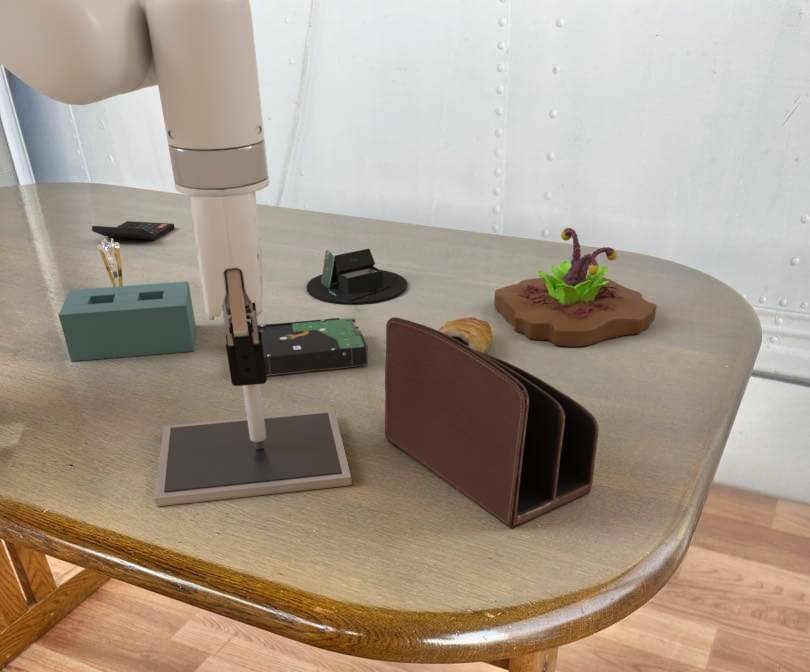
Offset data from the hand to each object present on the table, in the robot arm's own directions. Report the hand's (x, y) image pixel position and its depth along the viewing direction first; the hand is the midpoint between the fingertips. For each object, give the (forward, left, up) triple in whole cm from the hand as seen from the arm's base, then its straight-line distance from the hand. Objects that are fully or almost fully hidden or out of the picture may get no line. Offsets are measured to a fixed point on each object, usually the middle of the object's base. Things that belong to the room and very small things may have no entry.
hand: (249, 377), depth 76 cm
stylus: (0, 0, -8) cm, 8 cm away
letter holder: (+21, -6, -9) cm, 24 cm away
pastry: (+26, +22, -9) cm, 35 cm away
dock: (-15, +33, -9) cm, 37 cm away
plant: (+43, +30, -9) cm, 53 cm away
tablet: (-1, 0, -9) cm, 9 cm away
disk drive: (+6, +24, -9) cm, 26 cm away
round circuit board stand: (+16, +48, -9) cm, 51 cm away
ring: (-19, +52, -9) cm, 56 cm away
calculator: (-19, +83, -9) cm, 86 cm away
